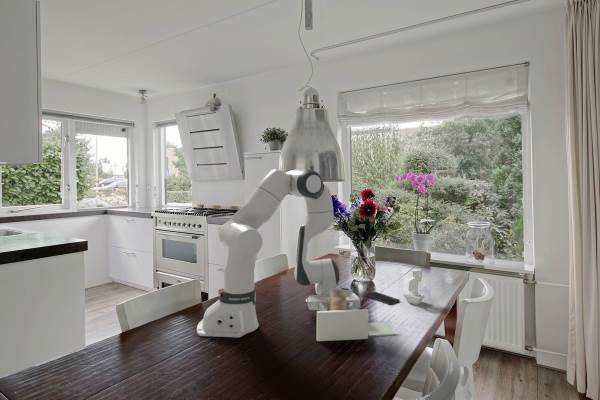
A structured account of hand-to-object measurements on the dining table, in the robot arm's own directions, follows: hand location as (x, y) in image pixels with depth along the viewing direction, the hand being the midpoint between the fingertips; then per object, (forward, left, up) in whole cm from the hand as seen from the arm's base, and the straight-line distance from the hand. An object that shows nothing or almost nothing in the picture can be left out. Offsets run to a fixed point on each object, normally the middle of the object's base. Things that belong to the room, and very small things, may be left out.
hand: (337, 309), depth 132 cm
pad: (+15, -1, -8) cm, 17 cm away
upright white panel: (0, -7, -8) cm, 11 cm away
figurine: (+41, +25, -8) cm, 49 cm away
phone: (+28, +31, -8) cm, 42 cm away
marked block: (0, +1, -8) cm, 8 cm away
